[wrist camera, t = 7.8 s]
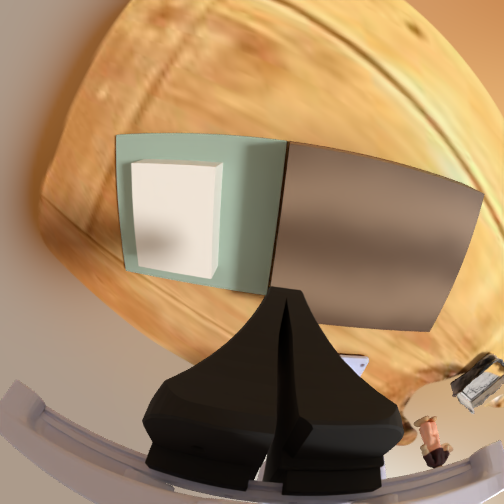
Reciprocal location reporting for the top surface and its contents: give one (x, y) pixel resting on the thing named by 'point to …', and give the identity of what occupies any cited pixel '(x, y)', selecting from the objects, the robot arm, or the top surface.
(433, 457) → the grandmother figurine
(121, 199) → the sage mat
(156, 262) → the plate
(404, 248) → the plate
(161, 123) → the top surface
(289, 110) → the top surface
